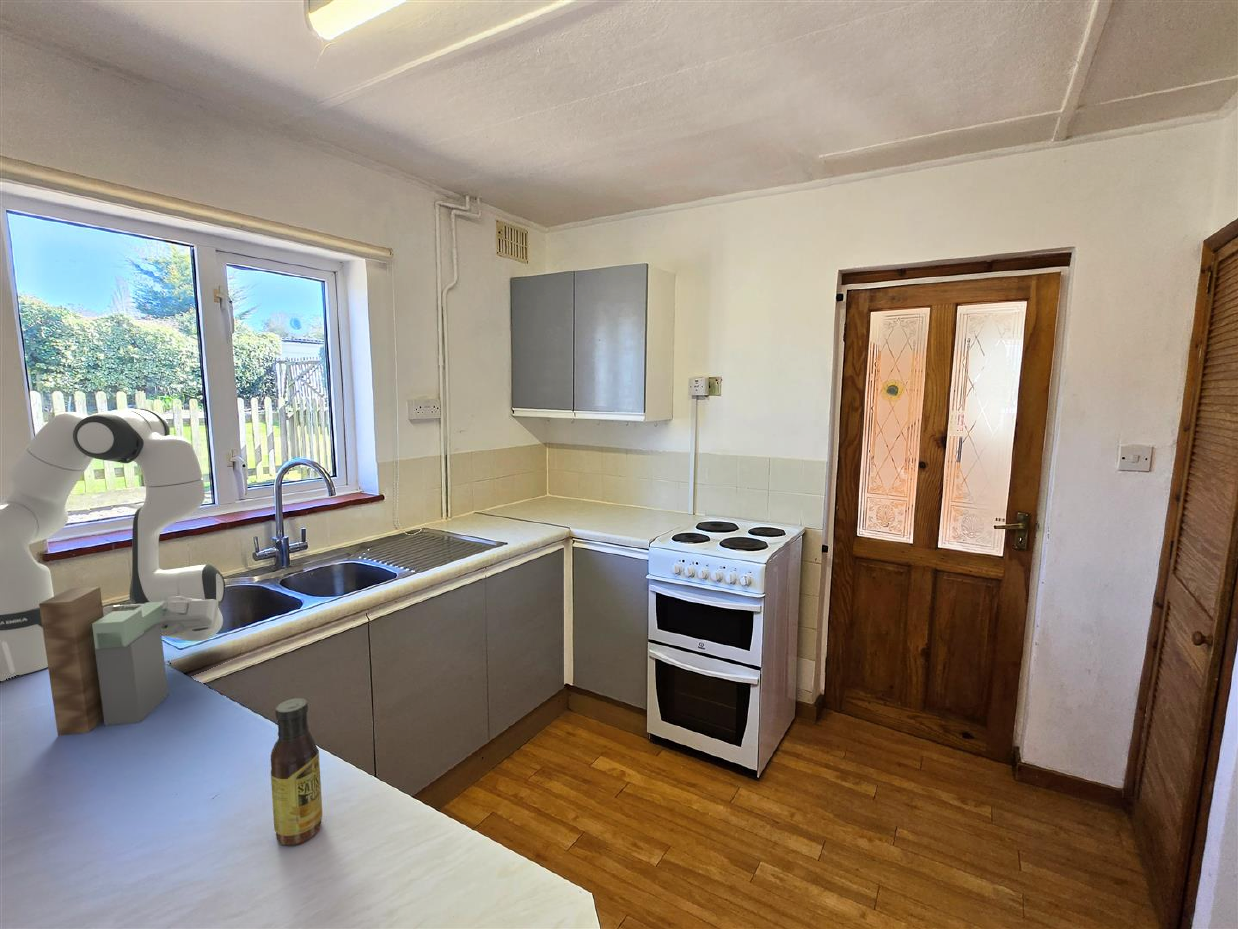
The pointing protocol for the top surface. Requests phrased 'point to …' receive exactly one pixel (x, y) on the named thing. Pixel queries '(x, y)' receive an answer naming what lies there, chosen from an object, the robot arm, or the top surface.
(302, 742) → the sauce bottle
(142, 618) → the green handle
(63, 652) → the walnut stand
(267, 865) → the top surface
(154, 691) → the gray block
